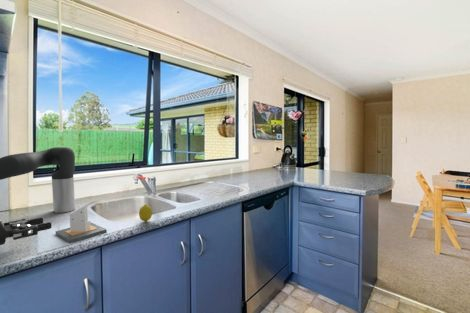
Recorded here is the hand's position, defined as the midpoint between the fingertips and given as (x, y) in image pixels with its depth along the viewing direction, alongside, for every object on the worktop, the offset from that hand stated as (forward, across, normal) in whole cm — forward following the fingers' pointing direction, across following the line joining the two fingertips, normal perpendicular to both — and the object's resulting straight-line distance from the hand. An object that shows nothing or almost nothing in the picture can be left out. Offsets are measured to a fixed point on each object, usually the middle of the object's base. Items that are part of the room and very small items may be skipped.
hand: (46, 222), depth 87 cm
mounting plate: (+11, 0, -8) cm, 13 cm away
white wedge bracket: (+11, 0, -6) cm, 13 cm away
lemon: (+34, +9, -8) cm, 36 cm away
